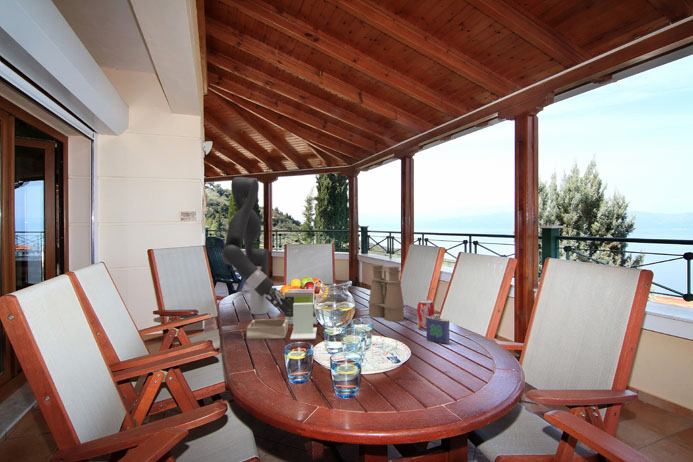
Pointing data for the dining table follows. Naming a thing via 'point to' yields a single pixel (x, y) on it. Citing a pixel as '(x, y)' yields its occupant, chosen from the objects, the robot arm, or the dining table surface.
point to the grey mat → (304, 335)
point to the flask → (438, 330)
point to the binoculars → (386, 294)
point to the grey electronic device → (298, 301)
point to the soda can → (424, 313)
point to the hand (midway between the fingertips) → (288, 309)
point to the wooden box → (267, 328)
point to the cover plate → (302, 318)
